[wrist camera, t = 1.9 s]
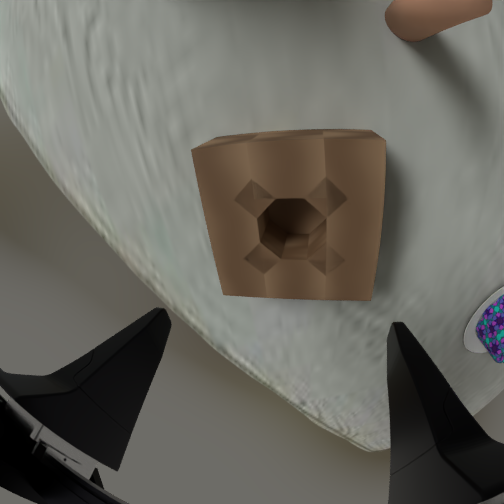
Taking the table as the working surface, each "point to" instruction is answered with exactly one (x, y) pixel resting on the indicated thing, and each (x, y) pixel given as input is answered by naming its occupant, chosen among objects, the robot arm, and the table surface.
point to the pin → (431, 16)
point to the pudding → (487, 328)
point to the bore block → (294, 211)
